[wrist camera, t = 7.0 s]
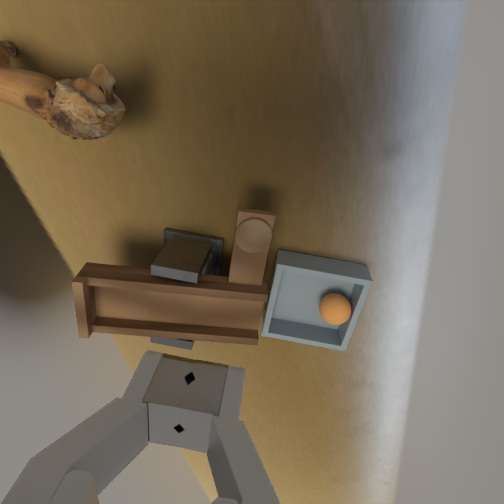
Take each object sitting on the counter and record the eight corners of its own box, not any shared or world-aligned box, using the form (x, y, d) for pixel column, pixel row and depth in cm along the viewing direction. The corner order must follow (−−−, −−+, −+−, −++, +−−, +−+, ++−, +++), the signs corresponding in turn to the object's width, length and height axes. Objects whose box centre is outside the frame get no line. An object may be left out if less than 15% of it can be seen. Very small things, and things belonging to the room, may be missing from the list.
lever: (78, 186, 26) (60, 200, 23) (280, 212, 27) (285, 227, 25) (92, 315, 32) (79, 337, 29) (255, 329, 33) (257, 351, 31)
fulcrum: (165, 227, 33) (139, 260, 27) (223, 238, 33) (209, 273, 27) (163, 299, 38) (140, 341, 32) (215, 309, 38) (201, 353, 32)
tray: (278, 249, 33) (277, 263, 31) (366, 264, 33) (372, 281, 30) (263, 317, 38) (261, 335, 35) (341, 331, 37) (344, 351, 35)
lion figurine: (155, 69, 27) (100, 66, 19) (153, 136, 29) (104, 159, 21) (-21, 33, 27) (-150, 15, 19) (-8, 103, 29) (-117, 113, 21)
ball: (317, 294, 32) (346, 310, 31) (332, 283, 35) (360, 298, 33) (309, 319, 34) (337, 336, 32) (325, 307, 36) (351, 322, 35)
